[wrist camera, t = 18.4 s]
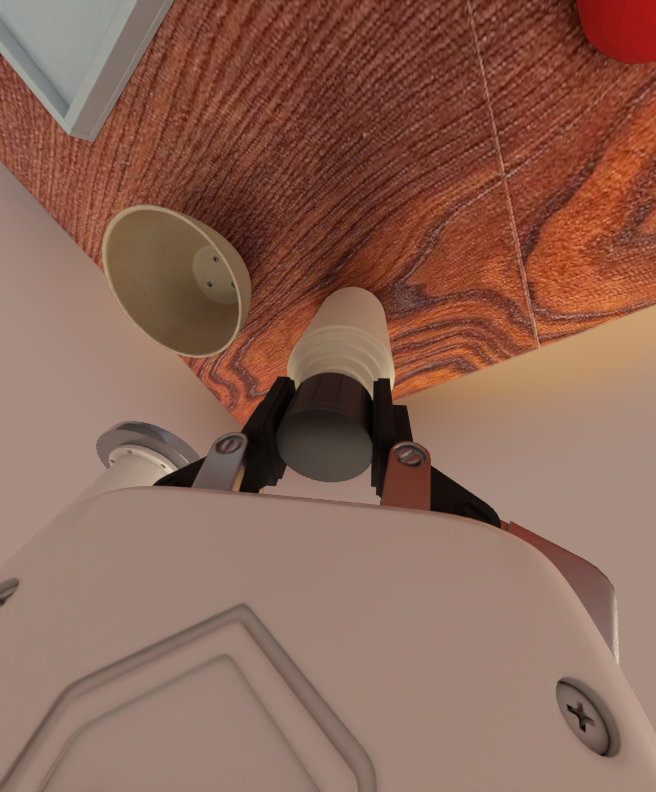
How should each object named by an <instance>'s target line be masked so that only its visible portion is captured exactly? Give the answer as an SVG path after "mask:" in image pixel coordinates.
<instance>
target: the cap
mask: <svg viewBox="0 0 656 792" xmlns="http://www.w3.org/2000/svg"><path fill="white" fill-rule="evenodd" d="M275 439H276V444H277V448H278V452H279V455H280V457H281V458H282V460H283V461H284V462H285V463H286V464H287V465H288V466H289V467H290V468H291V469H293V470H294V471H296V472H297V473H299V474H301V475H303V476H305V477H307V478H310V479H313V480H317V481H323V482H341V481H346V480H349V479H353V478H355V477H357V476H359V475H360V474H362V473H363V472H364V471H365V470H366V469H367V468H368V467H369V465H370V463H371V462H372V451H373V400H372V397H371V395H370V393H369V392H368V390H367V389H366V388H365V386H363V385H362V384H361V383H360V382H359V381H357V380H356V379H354V378H352V377H350V376H347V375H345V374H341V373H334V372H325V373H319V374H316V375H313V376H311V377H309V378H307V379H306V380H304V381H303V382H301V383H300V385H299V387H298V388H297V390H296V392H295V394H294V396H293V398H292V399H291V401H290V403H289V405H288V407H287V409H286V411H285V413H284V415H283V417H282V419H281V421H280V423H279V426H278V428H277V431H276V435H275Z"/></svg>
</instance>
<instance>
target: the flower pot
mask: <svg viewBox="0 0 656 792" xmlns="http://www.w3.org/2000/svg"><path fill="white" fill-rule="evenodd" d="M214 257H215V258H216V261H215V260H214ZM102 263H103V268H104V273H105V276H106V279H107V282H108V285H109V287H110V290H111V292H112V294H113V296H114V298H115V299H116V301H117V303H118V305H119V306H120V307H121V309H122V310H123V312H124V313H125V315H126V316H127V317H128V319H129V320H130V321H131V322H132V323H133V324H134V325H135V326H136V327H137V328H138V329H139V330H140V331H141V332H142V333H143V334H144V335H146V336H147V337H148V338H149V339H151V340H152V341H154V342H155V343H157V344H158V345H160V346H161V347H163V348H165V349H167V350H169V351H171V352H174V353H176V354H179V355H182V356H187V357H195V358H202V357H209V356H213V355H216V354H218V353H220V352H222V351H223V350H225V349H226V348H227V347H228V346H229V345H230V344H231V343H232V342H233V341H234V339H235V338H236V336H237V335H238V334H239V332H240V330H241V328H242V326H243V324H244V322H245V320H246V317H247V315H248V312H249V308H250V303H251V281H250V276H249V273H248V270H247V267H246V265H245V263H244V261H243V259H242V258H241V256H240V255H239V253H238V252H237V251H236V249H235V248H234V247H233V246H232V245H231V244H230V243H229V242H228V241H227V240H226V239H225V238H224V237H223V236H222V235H220V234H219V233H218V232H216V231H215V230H214V229H212V228H211V227H209V226H207V225H206V224H204V223H202V222H200V221H198V220H197V219H195V218H192V217H190V216H188V215H186V214H183V213H180V212H178V211H175V210H172V209H168V208H164V207H160V206H155V205H135V206H131V207H128V208H126V209H124V210H122V211H120V212H119V213H118V214H116V216H115V217H113V219H112V220H111V221H110V223H109V225H108V226H107V228H106V231H105V233H104V237H103V242H102ZM233 283H234V284H233ZM210 284H212V286H211V287H210Z"/></svg>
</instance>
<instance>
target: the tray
mask: <svg viewBox="0 0 656 792" xmlns="http://www.w3.org/2000/svg"><path fill="white" fill-rule="evenodd" d="M173 2H174V0H0V53H1V54H2V55H3V57H4V58H5V59H6V60H7V61H8V63H9V64H10V65H11V66H12V67H13V69H14V70H15V71H16V72H17V74H18V75H19V76H20V77H21V78H22V80H23V81H24V82H25V83H26V84H27V86H28V87H29V88H30V89H31V91H32V92H33V93H34V94H35V95H36V97H37V98H38V99H39V100H40V101H41V103H42V104H43V105H44V106H45V108H46V109H47V110H48V111H49V112H50V114H51V115H52V116H53V117H54V119H55V120H56V121H57V122H58V123H59V125H60V126H61V127H62V128H63V129H64V131H65V132H66V133H67V134H68V135H70V136H73V137H76V138H80V139H83V140H88V141H90V142H94V141H95V139H96V137H97V135H98V134H99V132H100V130H101V128H102V127H103V125H104V123H105V121H106V119H107V118H108V116H109V114H110V112H111V111H112V109H113V107H114V105H115V104H116V102H117V100H118V98H119V97H120V95H121V93H122V91H123V90H124V88H125V86H126V84H127V83H128V81H129V79H130V77H131V76H132V74H133V72H134V70H135V69H136V67H137V65H138V63H139V61H140V60H141V58H142V56H143V54H144V53H145V51H146V49H147V47H148V46H149V44H150V42H151V40H152V39H153V37H154V35H155V33H156V32H157V30H158V28H159V26H160V25H161V23H162V21H163V19H164V18H165V16H166V14H167V12H168V10H169V9H170V7H171V5H172V3H173Z"/></svg>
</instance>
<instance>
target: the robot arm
mask: <svg viewBox="0 0 656 792" xmlns="http://www.w3.org/2000/svg"><path fill="white" fill-rule="evenodd" d="M295 392H296V388H295V382H294V380H291V378H290V377H278V378H277V379H276V381H275V383H274V384H273V386H272V387H271V389H270V390H269V392H268V394H267V395H266V397H265V398H264V400H263V401H261V402H260V403H259V405H258V406H257V408H256V409H255V411H254V412H253V414H252V415H251V417H250V419H249V420H248V422H247V423H246V425H245V426H244V428H243V430H242V431H241V432H233V433H228V434H225V435H223V436H222V437H220V438H218V439H217V440H216V441H215V442H214V443H213V445H212V447H211V449H210V451H209V453H208V455H207V456H206V457H204V458H202V459H200V460H198V461H195V462H193V463H191V464H189V465H187V466H185V467H183V468H181V469H178V468H177V467H176V466H175V465H174V464H173V463H172V462H171V461H170V460H169V459H167V458H166V457H164V456H163V455H161V454H160V453H158V452H156V451H154V450H151V449H149V448H146V447H143V446H139V445H134V444H125V445H121V446H118V447H117V448H115V449H114V450H113V451H112V452H111V453H110V455H109V463H110V465H111V467H110V468H108V469H107V470H106V471H105V472H104V473H103V474H102V475H101V476H100V477H99V478H98V479H96V480H95V481H94V482H93V483H92V484H91V485H90V486H89V487H88V488H87V489H85V491H83V492H82V493H81V494H80V495H79V496H78V497H77V498H76V499H75V500H73V501H72V502H71V503H70V504H69V505H68V506H67V507H66V508H65V509H64V510H63V511H62V512H60V513H59V514H58V515H57V516H56V517H55V518H54V519H53V520H52V521H50V523H48V524H47V525H46V526H45V527H44V528H43V529H42V530H41V531H40V532H38V533H37V534H36V535H35V536H34V537H33V538H32V539H31V540H30V541H29V542H27V543H26V544H25V545H24V546H23V547H22V548H21V549H20V550H18V551H17V552H16V553H15V554H14V555H13V556H12V557H11V558H10V559H9V560H8V561H6V562H5V563H4V565H3V566H2V567H1V568H0V792H656V734H655V732H654V730H653V728H652V726H651V724H650V722H649V720H648V718H647V716H646V715H645V713H644V711H643V709H642V707H641V705H640V704H639V702H638V700H637V698H636V696H635V695H634V693H633V691H632V689H631V687H630V686H629V684H628V682H627V681H626V678H625V676H624V675H623V673H622V671H621V669H620V668H619V650H618V620H617V596H616V593H615V590H614V587H613V585H612V584H611V582H610V581H609V579H608V578H607V577H606V576H605V575H604V574H603V573H602V572H601V571H600V570H599V569H598V568H597V567H596V566H594V565H592V564H591V563H589V562H588V561H586V560H585V559H583V558H581V557H579V556H577V555H575V554H573V553H571V552H569V551H567V550H565V549H564V548H561V547H560V546H558V545H556V544H554V543H552V542H550V541H548V540H546V539H544V538H542V537H540V536H538V535H536V534H535V533H533V532H531V531H529V530H527V529H525V528H523V527H521V526H519V525H517V524H515V523H513V522H510V523H509V524H508V523H506V522H504V521H502V520H500V519H499V517H498V515H497V513H496V512H495V511H494V510H493V509H492V508H491V507H490V506H489V505H488V504H487V503H485V502H484V501H482V500H480V499H479V498H478V497H477V496H475V495H474V494H472V493H471V492H469V491H468V490H466V489H465V488H463V487H462V486H460V485H459V484H457V483H456V482H455V481H453V480H452V479H450V478H449V477H447V476H446V475H444V474H443V473H441V472H440V471H438V470H437V469H436V468H434V467H432V466H431V458H430V454H429V452H428V451H427V449H425V448H424V447H423V446H421V445H419V444H418V443H414V442H413V438H412V433H411V428H410V422H409V417H408V411H407V406H406V405H393V404H392V395H391V385H390V378H378V381H374V382H373V451H372V462H371V465H372V466H371V486H372V487H376V495H378V496H379V497H381V501H380V505H373V504H363V503H353V502H343V501H333V500H323V499H322V500H321V499H312V498H301V497H291V496H280V495H269V494H263V487H265V486H266V485H268V486H276V484H277V481H278V479H282V477H283V474H284V471H285V469H286V466H287V464H286V463H285V462H284V461H283V460H282V458H281V457H280V455H279V452H278V448H277V444H276V439H275V435H276V431H277V428H278V426H279V423H280V421H281V419H282V417H283V415H284V413H285V411H286V409H287V407H288V405H289V403H290V401H291V399H292V398H293V396H294V394H295Z"/></svg>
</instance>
